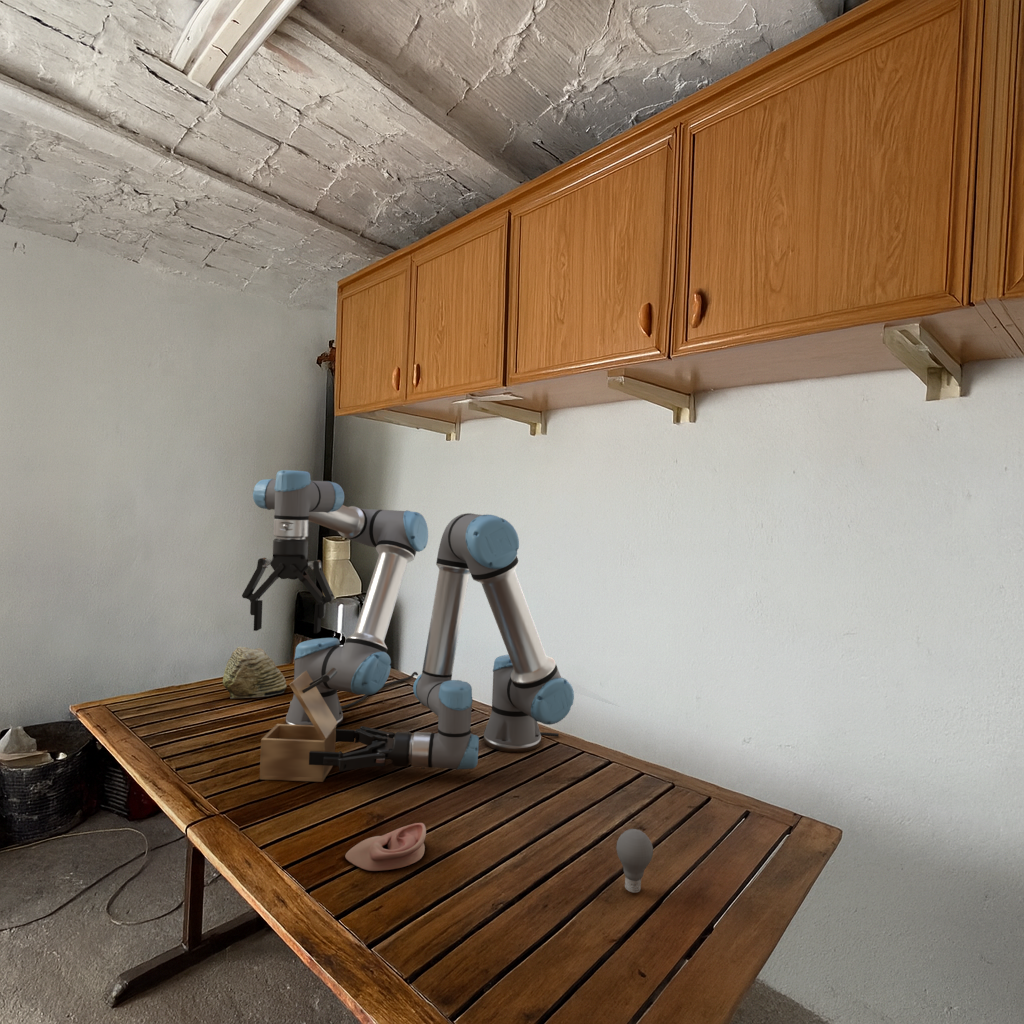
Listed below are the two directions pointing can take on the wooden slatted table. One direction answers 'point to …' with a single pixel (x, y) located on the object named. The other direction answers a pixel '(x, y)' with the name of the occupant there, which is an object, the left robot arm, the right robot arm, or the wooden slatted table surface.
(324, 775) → the chest
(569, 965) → the wooden slatted table surface
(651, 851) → the light bulb
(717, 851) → the wooden slatted table surface
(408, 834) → the anatomical model
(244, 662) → the fossil
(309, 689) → the lid
